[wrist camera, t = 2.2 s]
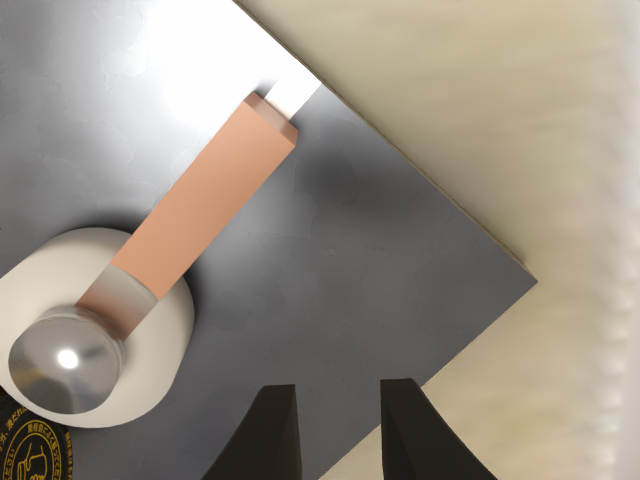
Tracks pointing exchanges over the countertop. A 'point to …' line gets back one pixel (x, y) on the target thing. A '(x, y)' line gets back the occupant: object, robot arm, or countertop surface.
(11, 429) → the condiment
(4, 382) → the collar
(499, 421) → the countertop surface
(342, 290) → the base
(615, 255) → the countertop surface
